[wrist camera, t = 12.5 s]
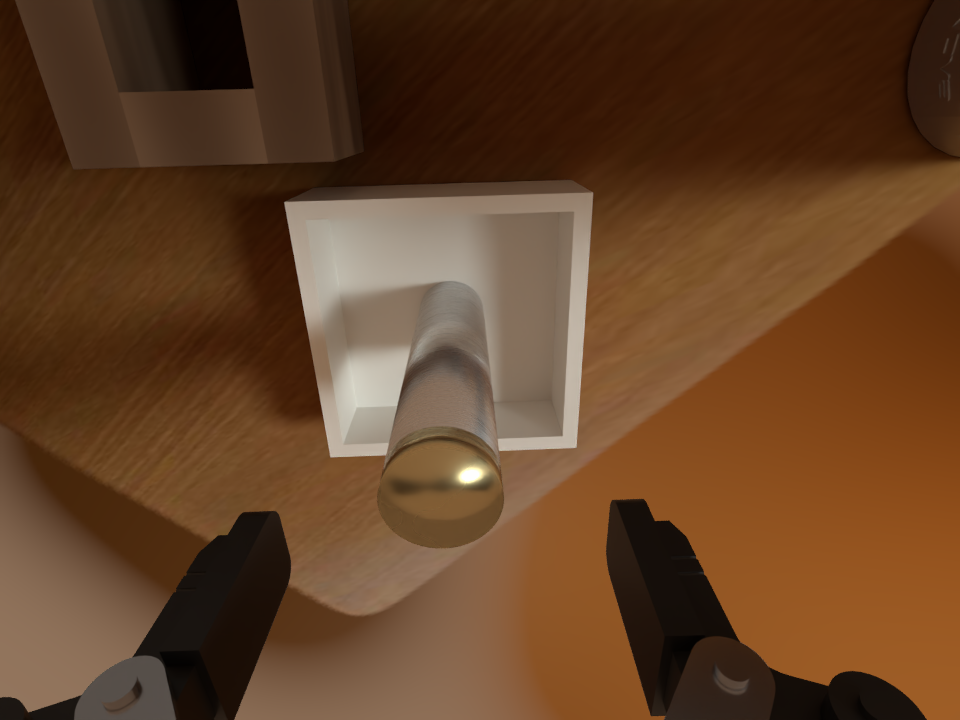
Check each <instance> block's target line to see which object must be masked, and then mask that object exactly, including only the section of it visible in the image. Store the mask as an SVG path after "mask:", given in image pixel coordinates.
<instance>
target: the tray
mask: <svg viewBox="0 0 960 720" xmlns="http://www.w3.org/2000/svg"><path fill="white" fill-rule="evenodd" d="M284 204H285V210H286V215H287V220H288V226H289V231H290V237H291V242H292V248H293V253H294V259H295V264H296V270H297V275H298V281H299V286H300V292H301V297H302V303H303V308H304V314H305V319H306V325H307V330H308V336H309V341H310V347H311V352H312V358H313V363H314V368H315V374H316V379H317V385H318V390H319V396H320V401H321V407H322V412H323V418H324V423H325V429H326V434H327V440H328V445H329V451H330V456H331V457H350V456H376V455H386V454H387V449H388V445H389V440H390V436H391V432H392V427H393V423H394V418H395V414H396V410H397V405H398V401H399V396H400V392H401V388H402V383H403V379H404V374H405V370H406V365H407V361H408V357H409V352H410V348H411V343H412V339H413V335H414V330H415V326H416V321H417V317H418V312H419V308H420V304H421V301H422V298H423V296H424V295H425V293H426V292H427V291H428V290H429V289H430V288H431V287H433V286H434V285H436V284H438V283H441V282H445V281H458V282H462V283H464V284H467V285H468V286H470V287H471V288H473V289H474V290H475V291H476V292H477V294H478V295H479V296H480V298H481V300H482V303H483V308H484V317H485V327H486V336H487V345H488V354H489V364H490V373H491V382H492V392H493V401H494V410H495V419H496V429H497V438H498V447H499V451H506V450H531V449H557V448H576V446H577V431H578V416H579V401H580V386H581V371H582V356H583V340H584V325H585V310H586V295H587V280H588V265H589V250H590V235H591V220H592V204H593V192H592V191H590V190H588V189H586V188H585V187H583V186H581V185H580V184H578V183H576V182H574V181H573V180H546V181H513V182H480V183H447V184H414V185H381V186H348V187H315V188H312V189H310V190H308V191H306V192H304V193H302V194H300V195H298V196H296V197H294V198H291V199H289V200H287V201H285V202H284Z"/></svg>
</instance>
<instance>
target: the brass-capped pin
mask: <svg viewBox="0 0 960 720" xmlns="http://www.w3.org/2000/svg"><path fill="white" fill-rule="evenodd" d="M377 499H378V507H379V511H380V513H381V516H382V518H383V519H384V521H385V523H386V524H387V525H388V526H389V528H390V529H391V530H392V531H394V532H395V533H396V534H397V535H399V536H400V537H402V538H403V539H405V540H407V541H409V542H411V543H414V544H417V545H420V546H424V547H429V548H453V547H458V546H462V545H465V544H468V543H471V542H473V541H475V540H477V539H479V538H480V537H482V536H483V535H485V534H486V533H487V532H488V531H489V530H490V529H492V527H493V526H494V525H495V524H496V522H497V521H498V519H499V517H500V515H501V512H502V509H503V504H504V494H503V484H502V475H501V466H500V457H499V447H498V438H497V429H496V419H495V410H494V401H493V392H492V382H491V373H490V364H489V354H488V345H487V336H486V327H485V317H484V308H483V303H482V300H481V298H480V296H479V295H478V294H477V292H476V291H475V290H474V289H473V288H471V287H470V286H468V285H467V284H464V283H462V282H458V281H445V282H441V283H438V284H436V285H434V286H433V287H431V288H430V289H429V290H428V291H427V292H426V293H425V295H424V296H423V298H422V301H421V304H420V308H419V312H418V317H417V321H416V326H415V330H414V335H413V339H412V343H411V348H410V352H409V357H408V361H407V365H406V370H405V374H404V379H403V383H402V388H401V392H400V396H399V401H398V405H397V410H396V414H395V418H394V423H393V427H392V432H391V436H390V440H389V445H388V449H387V454H386V458H385V463H384V467H383V471H382V476H381V480H380V485H379V489H378V496H377Z"/></svg>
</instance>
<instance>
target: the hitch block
mask: <svg viewBox="0 0 960 720" xmlns="http://www.w3.org/2000/svg"><path fill="white" fill-rule="evenodd" d="M15 1H16V4H17V7H18V10H19V13H20V16H21V19H22V22H23V25H24V28H25V31H26V33H27V36H28V39H29V42H30V45H31V48H32V51H33V54H34V57H35V60H36V63H37V66H38V68H39V71H40V74H41V77H42V80H43V83H44V86H45V89H46V92H47V95H48V98H49V100H50V103H51V106H52V109H53V112H54V115H55V118H56V121H57V124H58V127H59V130H60V132H61V135H62V138H63V141H64V144H65V147H66V150H67V153H68V156H69V159H70V162H71V165H72V167H73V169H102V168H136V167H170V166H204V165H238V164H272V163H306V162H335V161H338V160H341V159H344V158H347V157H349V156H352V155H355V154H358V153H361V152H364V143H363V134H362V125H361V116H360V107H359V99H358V90H357V81H356V72H355V63H354V54H353V45H352V37H351V28H350V19H349V10H348V1H347V0H237V2H238V7H239V12H240V18H241V23H242V28H243V33H244V39H245V44H246V49H247V54H248V60H249V65H250V70H251V76H252V81H253V86H254V89H232V90H201V89H200V85H199V80H198V76H197V71H196V67H195V63H194V58H193V54H192V50H191V45H190V41H189V37H188V32H187V28H186V23H185V19H184V15H183V10H182V6H181V2H180V0H15Z"/></svg>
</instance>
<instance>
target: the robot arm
mask: <svg viewBox="0 0 960 720" xmlns="http://www.w3.org/2000/svg"><path fill="white" fill-rule="evenodd" d="M908 100H909V105H910V109H911V114H912V118H913V120H914V121H915V123H916V125H917V127H918V129H919V131H920V133H921V134H922V135H923V136H924V137H925V138H926V139H927V140H928V141H929V142H930V144H931V145H932V146H933V147H935V148H937V149H939V150H941V151H943V152H945V153H947V154H948V155H952V156H957V157H960V0H934V2H933V3H932V5H931V7H930V9H929V11H928V12H927V14H926V16H925V18H924V20H923V22H922V24H921V27H920V30H919V32H918V35H917V38H916V40H915V43H914V46H913V49H912V54H911V59H910V64H909V69H908ZM607 536H608V537H607V546H606V555H607V565H608V571H609V575H610V579H611V582H612V585H613V589H614V592H615V596H616V599H617V602H618V606H619V609H620V613H621V616H622V619H623V623H624V626H625V630H626V633H627V636H628V640H629V643H630V647H631V650H632V653H633V657H634V660H635V664H636V667H637V670H638V674H639V677H640V680H641V684H642V687H643V691H644V694H645V697H646V701H647V704H648V708H649V711H650V715H651V716H665V719H664V720H927V719H926V718H925V716H924V715H923V714H922V712H921V711H920V710H919V708H918V707H917V706H916V705H915V704H914V703H913V702H912V701H911V700H910V699H909V698H908V697H907V696H906V695H905V694H903V692H901V691H900V690H898V689H897V688H896V687H894V686H893V685H891V684H889V683H888V682H886V681H884V680H882V679H880V678H878V677H876V676H873V675H870V674H866V673H862V672H855V671H848V672H843V673H840V674H838V675H836V676H835V677H834V678H833V679H832V680H831V682H830V684H829V686H826V685H822V684H819V683H815V682H811V681H808V680H804V679H800V678H796V677H793V676H789V675H786V674H783V673H780V672H778V671H776V670H774V669H772V668H770V667H768V666H767V664H766V663H765V662H764V660H762V658H761V657H760V656H759V655H758V654H757V653H756V652H755V651H753V650H752V649H750V648H749V647H748V646H746V645H744V644H742V643H741V642H740V641H739V640H738V638H737V636H736V634H735V632H734V630H733V628H732V626H731V624H730V622H729V620H728V618H727V617H726V615H725V613H724V611H723V609H722V607H721V605H720V603H719V601H718V599H717V597H716V595H715V593H714V591H713V589H712V587H711V585H710V583H709V581H708V579H707V577H706V576H705V575H704V571H703V569H702V567H701V565H700V563H699V561H698V560H697V559H696V555H695V553H694V551H693V549H692V547H691V545H690V543H689V541H688V539H687V537H686V536H685V535H684V534H683V533H682V532H681V531H680V530H678V529H677V528H676V527H675V526H674V525H673V524H672V523H671V522H670V521H654V518H653V516H652V514H651V512H650V509H649V507H648V505H647V503H646V501H645V500H644V499H630V500H629V499H627V500H612V502H611V504H610V513H609V524H608V535H607ZM290 573H291V559H290V554H289V551H288V547H287V543H286V539H285V535H284V532H283V528H282V524H281V520H280V517H279V515H278V513H277V512H276V511H263V512H244V513H242V514H241V515H240V516H239V517H238V519H237V520H236V522H235V524H234V525H233V527H232V529H231V530H230V532H229V534H228V535H219V536H217V537H216V538H215V539H214V540H213V541H212V542H210V543H209V544H208V545H207V546H206V547H205V548H204V549H202V550H201V551H200V552H199V553H198V555H197V556H196V558H195V560H194V561H193V563H192V564H191V566H190V567H189V569H188V571H187V575H186V576H184V577H183V579H182V580H181V582H180V583H179V585H178V587H177V588H176V589H177V590H176V592H174V593H173V594H172V596H171V597H170V599H169V601H168V603H167V604H166V605H165V607H164V609H163V610H162V612H161V613H160V615H159V616H158V618H157V620H156V621H155V623H154V624H153V626H152V628H151V629H150V631H149V632H148V634H147V635H146V637H145V639H144V640H143V642H142V643H141V645H140V647H139V648H138V650H137V651H136V653H135V654H134V656H133V657H132V658H129V659H126V660H124V661H121V662H119V663H117V664H115V665H114V666H112V667H110V668H109V669H107V670H106V671H105V672H103V673H102V674H101V675H100V676H98V677H97V678H96V679H95V680H94V681H93V682H92V683H91V684H90V685H89V686H88V688H87V689H86V690H85V691H84V693H83V694H82V695H81V696H78V697H75V698H72V699H69V700H66V701H63V702H60V703H57V704H54V705H50V706H48V707H44V708H41V709H38V710H35V711H32V712H29V713H28V711H27V710H26V708H25V707H24V705H23V704H22V703H21V702H20V701H19V700H17V699H15V698H11V697H2V698H0V720H234V719H235V716H236V714H237V711H238V709H239V706H240V703H241V701H242V699H243V696H244V694H245V691H246V689H247V686H248V683H249V681H250V679H251V676H252V674H253V671H254V669H255V666H256V663H257V661H258V658H259V656H260V653H261V651H262V649H263V646H264V644H265V641H266V639H267V636H268V634H269V631H270V629H271V626H272V623H273V621H274V618H275V616H276V613H277V611H278V608H279V606H280V603H281V601H282V598H283V596H284V593H285V591H286V588H287V586H288V583H289V579H290Z"/></svg>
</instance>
